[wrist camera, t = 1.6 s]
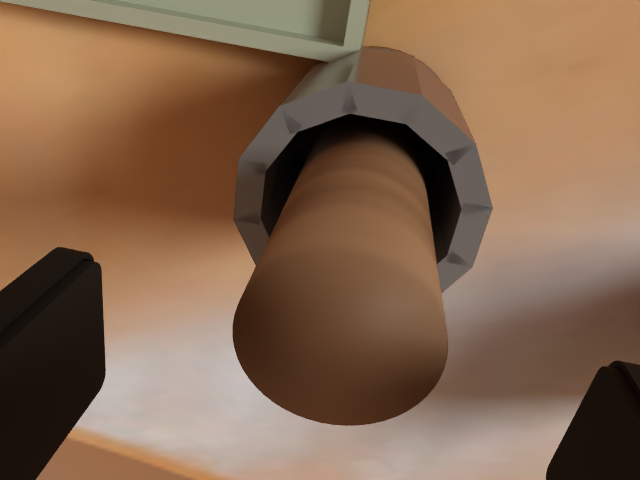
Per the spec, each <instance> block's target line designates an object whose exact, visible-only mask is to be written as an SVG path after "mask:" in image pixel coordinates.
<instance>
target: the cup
mask: <svg viewBox="0 0 640 480" xmlns="http://www.w3.org/2000/svg"><path fill="white" fill-rule="evenodd" d="M347 114H355V115H361V116H366V117H371V118H377V119H382V120H387V121H393V122H398V123H403V124H407V125H408V126H409V127H410V128H411V129H412V130H413V131H415V132H416V133H417V134H418V136H419V143H420V150H421V157H422V164H423V171H424V177H425V184H426V191H427V198H428V205H429V212H430V219H431V226H432V233H433V240H434V247H435V254H436V261H437V268H438V275H439V282H440V289H441V293H442V292H443V291H445V290H446V289H447V288H448V287H449V286H451V285H452V284H453V283H454V282H455V281H456V280H458V279H459V278H460V277H461V276H462V275H464V274H465V273H466V272H467V271H468V270H469V269H471V268H472V267H473V264H474V261H475V258H476V255H477V252H478V249H479V246H480V243H481V240H482V238H483V235H484V232H485V229H486V226H487V223H488V220H489V217H490V214H491V211H492V209H493V207H492V204H491V200H490V196H489V192H488V188H487V184H486V181H485V177H484V173H483V169H482V165H481V162H480V158H479V154H478V150H477V146H476V143H475V141H474V139H473V136H472V134H471V132H470V130H469V128H468V126H467V124H466V122H465V119H464V117H463V115H462V113H461V111H460V109H459V107H458V105H457V102H456V100H455V98H454V96H453V94H452V92H451V90H450V89H449V88H448V87H447V86H446V85H445V84H443V83H442V81H441V80H440V79H439V77H438V76H437V75H436V74H435V73H434V72H433V71H432V70H431V69H430V68H429V67H428V66H426V65H425V64H424V63H423V62H421V61H420V60H418V59H416V58H415V57H414V56H412V55H409V54H407V53H404V52H402V51H399V50H395V49H391V48H387V47H378V46H369V47H361V49H360V50H359V51H357V52H354V53H352V54H349V55H347V56H344V57H341V58H339V59H336V60H334V61H331V62H327V61H323V62H321V63H318V64H316V65H314V66H313V67H312V69H311V70H310V71H309V72H308V73H307V74H306V76H305V77H304V78H303V79H302V80H301V81H300V82H299V84H298V85H297V86H296V87H295V88H294V89H293V91H292V92H291V93H290V94H289V95H288V96H287V98H286V99H285V100H284V101H283V102H282V103H281V105H280V106H279V107H278V108H277V110H276V111H275V112H274V114H273V115H272V116H271V117H270V119H269V120H268V121H267V123H266V124H265V125H264V127H263V128H262V129H261V130H260V132H259V133H258V134H257V136H256V137H255V138H254V140H253V141H252V142H251V143H250V145H249V146H248V147H247V149H246V150H245V151H244V153H243V154H242V155H241V156H240V158H239V160H238V172H237V184H236V196H235V207H234V219H233V220H234V222H235V224H236V226H237V228H238V230H239V232H240V234H241V236H242V238H243V240H244V242H245V244H246V246H247V248H248V250H249V253H250V255H251V257H252V259H253V261H254V263H255V265H257V263H258V261H259V259H260V257H261V255H262V253H263V250H264V248H265V246H266V244H267V242H268V240H269V238H270V236H271V233H272V231H273V229H274V227H275V225H276V223H277V221H278V219H279V217H280V214H281V212H282V210H283V208H284V206H285V204H286V202H287V200H288V197H289V195H290V193H291V191H292V189H293V187H294V185H295V183H296V180H297V178H298V176H299V174H300V172H301V170H302V168H303V166H304V163H305V161H306V159H307V157H308V155H309V153H310V151H311V149H312V147H313V144H314V142H315V140H316V138H317V136H318V134H319V132H320V130H321V127H322V125H323V123H324V122H327V121H330V120H333V119H335V118H338V117H341V116H344V115H347Z"/></svg>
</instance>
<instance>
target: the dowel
mask: <svg viewBox="0 0 640 480" xmlns="http://www.w3.org/2000/svg"><path fill="white" fill-rule="evenodd" d="M233 342H234V348H235V351H236V355H237V358H238V360H239V362H240V364H241V366H242V369H243V370H244V372H245V373H246V375H247V376H248V378H249V379H250V380H251V382H252V383H253V384H254V385H255V386H256V387H257V388H258V389H259V390H260V391H261V392H262V393H263V394H264V395H265V396H266V397H268V398H269V399H270V400H271V401H273V402H274V403H276V404H277V405H279V406H280V407H282V408H284V409H285V410H288V411H290V412H292V413H294V414H296V415H298V416H301V417H304V418H306V419H309V420H313V421H317V422H321V423H327V424H333V425H346V426H347V425H365V424H372V423H377V422H381V421H385V420H388V419H390V418H393V417H396V416H398V415H400V414H402V413H404V412H406V411H408V410H410V409H411V408H413V407H414V406H416V405H417V404H418V403H420V402H421V401H422V400H423V399H424V398H425V397H426V396H427V395H428V394H429V393H430V392H431V391H432V390H433V388H434V387H435V385H436V384H437V382H438V381H439V379H440V377H441V375H442V373H443V370H444V368H445V364H446V360H447V353H448V339H447V330H446V323H445V316H444V309H443V302H442V296H441V289H440V282H439V275H438V268H437V261H436V254H435V247H434V240H433V233H432V226H431V219H430V212H429V205H428V198H427V191H426V184H425V177H424V171H423V164H422V157H421V150H420V143H419V136H418V134H417V133H416V132H415V131H413V130H412V129H411V128H410V127H409V126H408V125H407V124H403V123H398V122H393V121H387V120H382V119H377V118H371V117H366V116H361V115H355V114H347V115H344V116H341V117H338V118H335V119H333V120H330V121H327V122H324V123H323V125H322V127H321V130H320V132H319V134H318V136H317V138H316V140H315V142H314V144H313V147H312V149H311V151H310V153H309V155H308V157H307V159H306V161H305V163H304V166H303V168H302V170H301V172H300V174H299V176H298V178H297V180H296V183H295V185H294V187H293V189H292V191H291V193H290V195H289V197H288V200H287V202H286V204H285V206H284V208H283V210H282V212H281V214H280V217H279V219H278V221H277V223H276V225H275V227H274V229H273V231H272V233H271V236H270V238H269V240H268V242H267V244H266V246H265V248H264V250H263V253H262V255H261V257H260V259H259V261H258V263H257V265H256V267H255V270H254V272H253V274H252V276H251V278H250V280H249V282H248V284H247V286H246V289H245V291H244V293H243V295H242V297H241V299H240V301H239V303H238V306H237V309H236V312H235V316H234V321H233Z"/></svg>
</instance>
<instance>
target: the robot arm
mask: <svg viewBox="0 0 640 480" xmlns="http://www.w3.org/2000/svg"><path fill="white" fill-rule="evenodd" d="M105 372H106V369H105V345H104V321H103V297H102V272H101V266H100V264H99V263H97V262H94V259H93V257H92V255H91V254H90V253H87V252H82V251H77V250H72V249H67V248H63V247H57V248H55V249H54V250H52V251H51V252H50V253H48V254H47V255H46V256H45V257H43V258H42V259H41V260H39V261H38V262H37V263H36V264H34V265H33V266H32V267H30V268H29V269H28V270H27V271H25V272H24V273H23V274H21V275H20V276H19V277H18V278H16V279H15V280H14V281H13V282H11V283H10V284H9V285H7V286H6V287H5V288H4V289H2V290H1V291H0V480H36V478H37V477H38V476H39V474H40V473H41V471H42V470H43V469H44V467H45V466H46V464H47V463H48V462H49V460H50V459H51V458H52V456H53V455H54V453H55V452H56V451H57V449H58V448H59V446H60V445H61V444H62V442H63V441H64V439H65V438H66V437H67V435H68V434H69V433H70V431H71V430H72V428H73V427H74V426H75V424H76V423H77V421H78V420H79V419H80V417H81V416H82V415H83V413H84V412H85V410H86V409H87V408H88V406H89V405H90V403H91V402H92V401H93V399H94V398H95V397H96V395H97V394H98V392H99V391H100V389H101V387H102V385H103V382H104V379H105ZM546 480H640V365H637V364H632V363H627V362H622V361H614V362H612V363H611V364H610V365H609V366H608V367H606V366H604V367H601V368H600V369H599V370H598V372H597V373H596V375H595V377H594V379H593V381H592V383H591V385H590V387H589V389H588V391H587V393H586V395H585V397H584V398H583V400H582V402H581V404H580V406H579V408H578V410H577V412H576V414H575V416H574V418H573V420H572V421H571V423H570V425H569V427H568V429H567V431H566V433H565V435H564V437H563V439H562V441H561V443H560V444H559V446H558V448H557V450H556V452H555V454H554V456H553V458H552V460H551V462H550V464H549V466H548V468H547V473H546Z"/></svg>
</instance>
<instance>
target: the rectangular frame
mask: <svg viewBox="0 0 640 480" xmlns="http://www.w3.org/2000/svg"><path fill="white" fill-rule="evenodd" d="M0 1H1V2H6V3H12V4H17V5H23V6H28V7H34V8H39V9H44V10H50V11H55V12H61V13H66V14H72V15H77V16H82V17H88V18H93V19H99V20H104V21H110V22H115V23H120V24H126V25H131V26H137V27H142V28H148V29H153V30H158V31H164V32H169V33H175V34H180V35H186V36H191V37H196V38H202V39H207V40H213V41H218V42H223V43H229V44H234V45H240V46H245V47H251V48H256V49H261V50H267V51H272V52H278V53H283V54H289V55H294V56H299V57H305V58H310V59H316V60H321V61H327V62H331V61H334V60H336V59H339V58H341V57H344V56H347V55H349V54H352V53H354V52H357V51H359V50H360V49H361V47H362V45H363V39H364V34H365V28H366V23H367V18H368V12H369V7H370V1H371V0H0Z"/></svg>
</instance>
